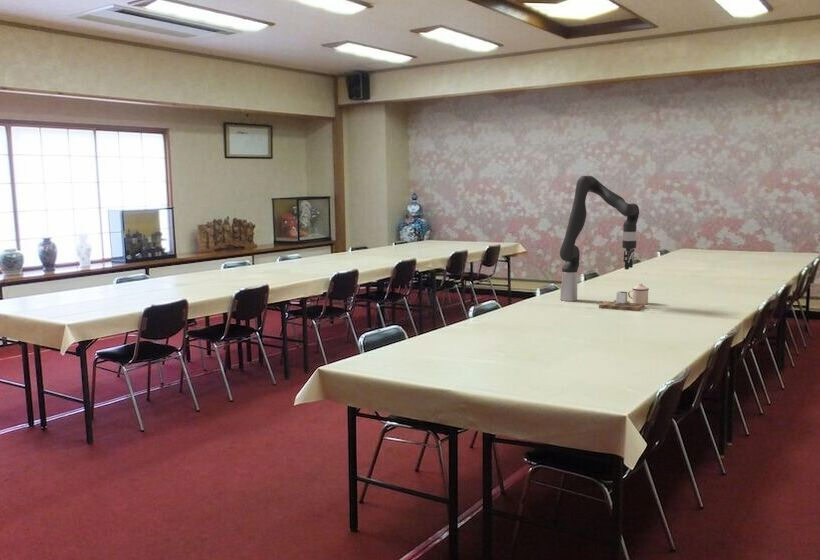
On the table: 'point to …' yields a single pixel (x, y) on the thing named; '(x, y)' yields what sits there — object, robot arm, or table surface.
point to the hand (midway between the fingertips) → (628, 268)
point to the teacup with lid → (639, 294)
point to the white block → (621, 297)
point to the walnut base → (622, 306)
